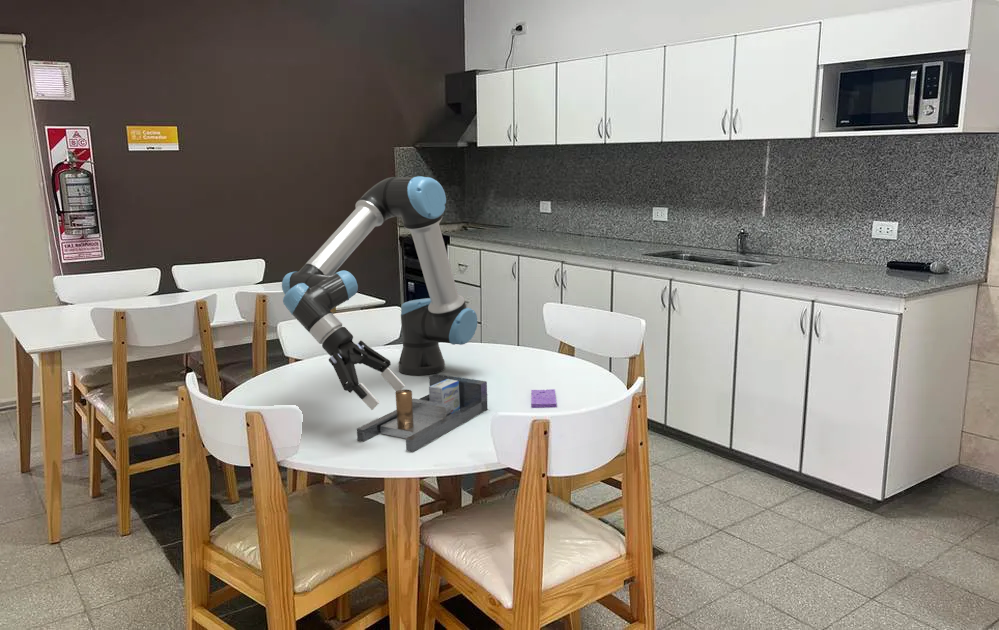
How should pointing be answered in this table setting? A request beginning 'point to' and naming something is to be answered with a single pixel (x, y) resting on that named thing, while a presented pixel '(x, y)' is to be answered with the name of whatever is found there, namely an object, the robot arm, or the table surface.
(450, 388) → the medicine box
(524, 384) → the table surface
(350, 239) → the robot arm
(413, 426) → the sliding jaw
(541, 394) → the sponges
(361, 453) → the table surface
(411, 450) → the vise frame
